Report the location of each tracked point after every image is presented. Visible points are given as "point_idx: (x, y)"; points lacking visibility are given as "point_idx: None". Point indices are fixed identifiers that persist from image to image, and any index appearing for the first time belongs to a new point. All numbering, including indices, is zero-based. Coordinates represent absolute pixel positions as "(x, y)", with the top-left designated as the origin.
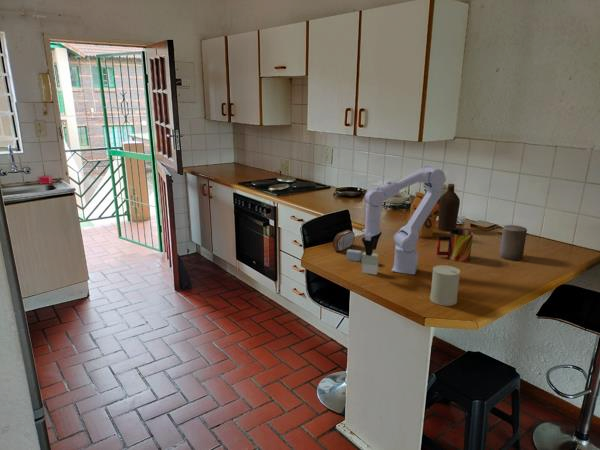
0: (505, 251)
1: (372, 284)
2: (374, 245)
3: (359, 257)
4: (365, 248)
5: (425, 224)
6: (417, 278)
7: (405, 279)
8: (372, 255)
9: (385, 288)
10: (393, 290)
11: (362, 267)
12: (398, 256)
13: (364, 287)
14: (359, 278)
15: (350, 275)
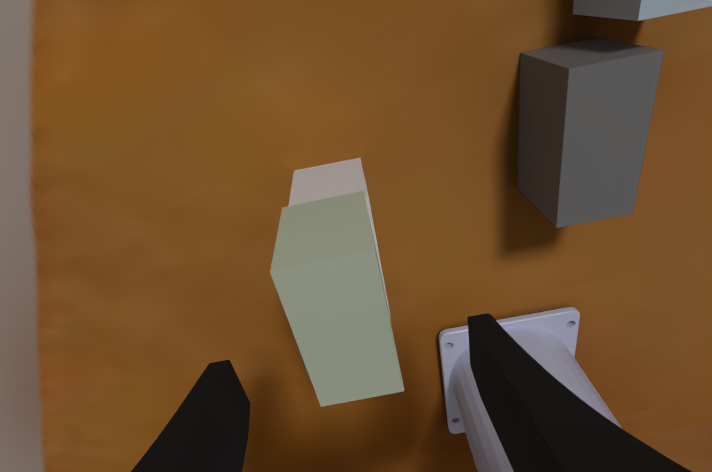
0: None
1: (145, 320)
2: (492, 404)
3: (599, 14)
4: (146, 460)
5: None
6: (409, 446)
7: (359, 416)
8: (317, 370)
9: (156, 390)
10: (167, 423)
11: (291, 196)
12: (491, 464)
13: (53, 302)
14: (165, 208)
15: (160, 113)
